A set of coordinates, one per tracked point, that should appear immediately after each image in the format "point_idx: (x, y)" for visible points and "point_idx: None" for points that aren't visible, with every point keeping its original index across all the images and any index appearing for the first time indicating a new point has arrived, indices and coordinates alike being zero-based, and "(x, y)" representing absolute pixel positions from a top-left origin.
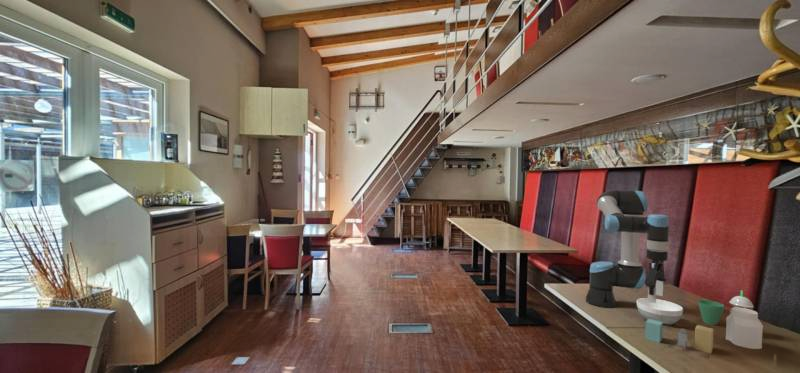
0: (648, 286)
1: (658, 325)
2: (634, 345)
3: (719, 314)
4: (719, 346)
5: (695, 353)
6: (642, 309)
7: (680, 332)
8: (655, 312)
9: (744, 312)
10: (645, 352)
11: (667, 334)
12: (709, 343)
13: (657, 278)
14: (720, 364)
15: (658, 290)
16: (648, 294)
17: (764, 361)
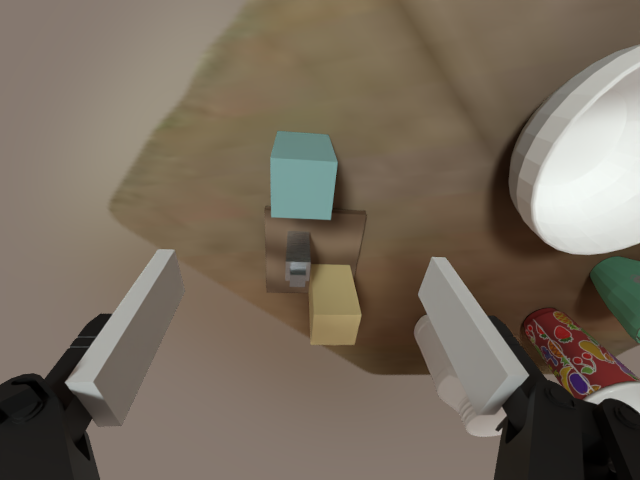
0: (34, 394)
1: (271, 210)
2: (188, 103)
3: (614, 315)
4: (400, 295)
5: (274, 269)
6: (582, 84)
7: (290, 268)
8: (531, 157)
9: (474, 423)
10: (158, 151)
11: (417, 186)
12: (309, 311)
13: (527, 415)
14: (267, 304)
15: (442, 304)
16: (127, 299)
17: (362, 350)
